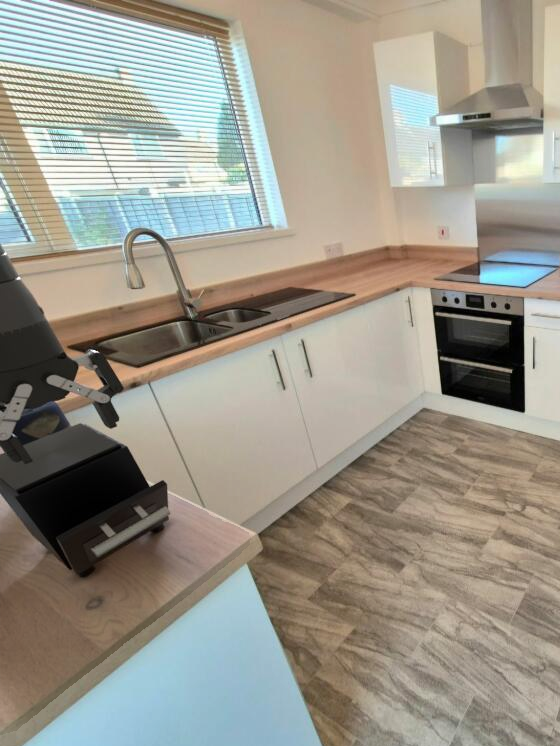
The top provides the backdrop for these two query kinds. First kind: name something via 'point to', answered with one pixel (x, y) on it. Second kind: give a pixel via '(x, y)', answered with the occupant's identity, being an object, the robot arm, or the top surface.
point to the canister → (40, 423)
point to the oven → (69, 483)
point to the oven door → (115, 527)
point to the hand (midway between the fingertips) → (71, 442)
